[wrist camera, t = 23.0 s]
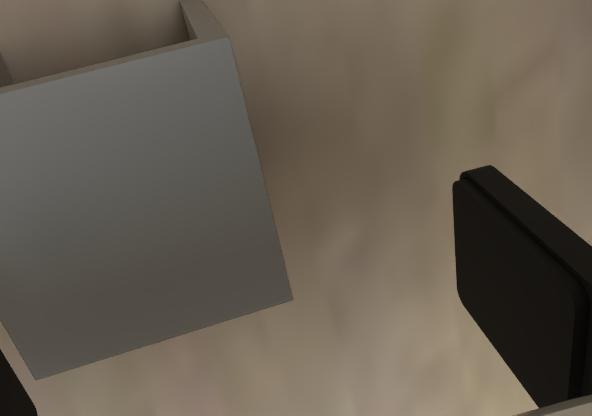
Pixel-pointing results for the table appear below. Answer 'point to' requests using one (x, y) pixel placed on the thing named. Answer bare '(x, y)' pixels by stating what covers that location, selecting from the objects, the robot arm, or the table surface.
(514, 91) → the table surface
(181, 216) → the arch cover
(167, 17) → the table surface
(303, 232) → the table surface
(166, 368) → the table surface
